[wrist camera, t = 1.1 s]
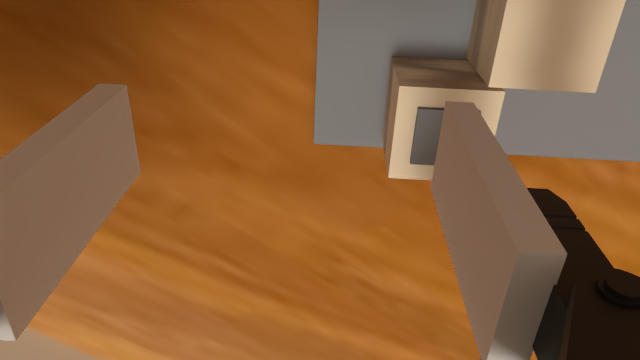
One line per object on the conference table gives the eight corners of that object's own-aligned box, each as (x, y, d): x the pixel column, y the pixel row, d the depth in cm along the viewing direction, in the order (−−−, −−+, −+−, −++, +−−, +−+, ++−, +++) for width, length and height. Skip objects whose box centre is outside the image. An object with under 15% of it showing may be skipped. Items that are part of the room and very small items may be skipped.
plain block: (466, 57, 33) (488, 87, 28) (484, -40, 30) (512, -27, 25) (556, 62, 33) (595, 92, 28) (583, -36, 30) (632, -21, 25)
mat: (314, 140, 38) (313, 143, 37) (326, -187, 28) (325, -189, 27) (663, 159, 37) (667, 163, 37) (802, -167, 27) (811, -168, 27)
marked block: (381, 141, 37) (388, 184, 31) (391, 56, 34) (399, 87, 28) (463, 145, 37) (484, 189, 31) (480, 61, 34) (506, 93, 28)
